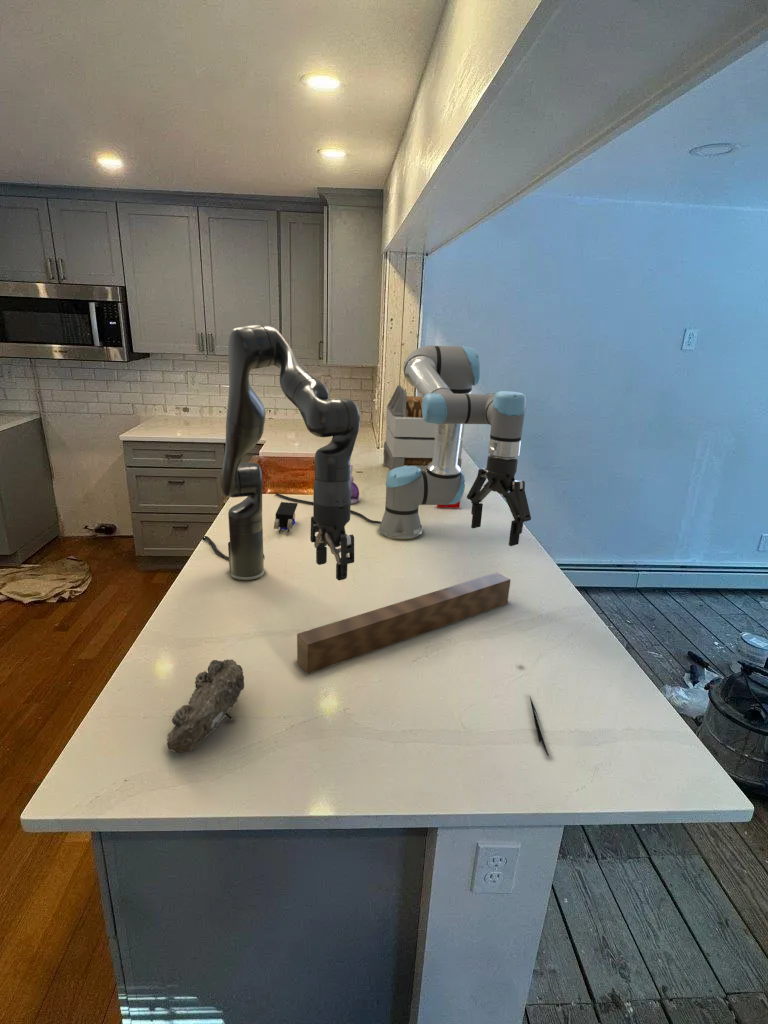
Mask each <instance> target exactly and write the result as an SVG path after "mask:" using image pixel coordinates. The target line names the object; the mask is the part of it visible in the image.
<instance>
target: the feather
mask: <svg viewBox="0 0 768 1024" xmlns="http://www.w3.org/2000/svg"><path fill="white" fill-rule="evenodd" d="M529 701H530V706H531V710H532V715H533V721H534V726H535V729H536V733H537V738H538V743H539V744H540V743H541V744H542V746H543V748H544V750H545V752H546V755H547V756H549V753H548V750H547V747H546V744H547V746H549V745H548V744H549V743H546V742H545V740H544V738H546V737H547V736H546V734H545V731H544V727H543V726H540V724H542V722H541V721H540V717H539V715H538V712H537V710H536V708H535V705H534V702H533V700H532V698H531V696H529ZM545 743H546V744H545Z"/></svg>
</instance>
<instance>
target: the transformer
mask: <svg viewBox="0 0 768 1024" xmlns="http://www.w3.org/2000/svg"><path fill="white" fill-rule="evenodd" d="M407 394H408V393H407V390H406V389H404V388H403V387H402V385H399V384H398V385H397V386H396V388H395V390H394V392H393V394H392V395H391V398H390V400H389V402H388V404H387V405H386V413H385V414H386V415H385V423H386V428H385V438H384V442H383V466H384V467H388V468H389V471H390V470H392V469H394V468H397V467H402V466H415V467H427V465H428V464H429V463H431V462H432V459H433V450H434V441H435V431H436V424H435V423H426V422H425V421H424V420H423V415H422V401H423V399H422V397H421V396H415V395H414V396H413V395H412V396H411V395H407ZM464 429H465V424H462V431H461V438H460V446H459V454H458V461H457V465H458V466H459V467H460V468H461V469H462V461H463V460H462V453H463V442H464V441H463V440H462V439H463V438H464V431H465V430H464Z"/></svg>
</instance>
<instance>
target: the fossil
mask: <svg viewBox="0 0 768 1024" xmlns="http://www.w3.org/2000/svg"><path fill="white" fill-rule="evenodd" d="M243 670H244V669H243V667H242V665H240V664H237V662H236V661H235V660H234V659H232V658H231V659H227V658H226V659H224V660H223V661H222V660H217V659H212V660H211V661H210V663H209V665H208V666H207V671H201V672H199V673H198V674H197V675H196V676H195V680H194V684H195V685H194V687H195V689H194V690H193V693H192V694H191V697H190V698H189V700H188V704H184V705H182V706H181V707H180V709H177V710H176V711H175V713H174V715H173V716H172V718H171V723H172V724H173V727H172V730H171V731H170V732H168V734H167V738H166V741H167V742H166V745H167V749H168V750H169V751H173V752H174V753H176V754H178V753H182V752H188V751H189V752H192V751H193V750H195V748H196V747H197V746H199V744H200V743H201V742H203V741H204V740H205V739H206V738H207V737H208V736H209V735H210V734H211V733H212V732H214V730H215V729H217V727H218V726H219V724H220V722H221V721H222V720H223V719H224V718H225V716H226V717H227V719H229V720H233V717H232V715H230V714H229V710H230V709H231V708H234V706H235V704H236V703H237V702H238V699H239V697H240V695H241V693H242V691H243V690H245V689H244V688H245V675H244V671H243Z"/></svg>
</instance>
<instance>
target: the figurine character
mask: <svg viewBox="0 0 768 1024" xmlns="http://www.w3.org/2000/svg"><path fill="white" fill-rule="evenodd" d="M297 507H298V502H287V501H285V502H284V501H281V502H280V504H279V506H278V508H277V510H276V512H275V519H274V523H273V528H274V529H275V530H278V533H279V534H281V533H282V531H286V534H289V533H290V530H292V529H293V527H294V526H295V525H296V524H297V521H296V513H295V512H296V510H297Z"/></svg>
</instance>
